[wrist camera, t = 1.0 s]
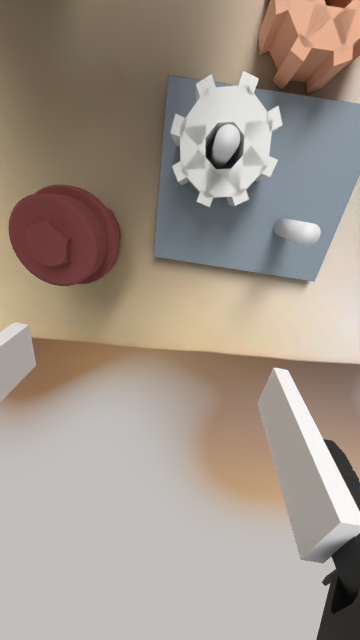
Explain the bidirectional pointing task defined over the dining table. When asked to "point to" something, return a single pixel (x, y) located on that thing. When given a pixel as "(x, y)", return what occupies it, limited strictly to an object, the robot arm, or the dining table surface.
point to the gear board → (263, 188)
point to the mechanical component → (64, 235)
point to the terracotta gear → (310, 39)
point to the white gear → (202, 128)
